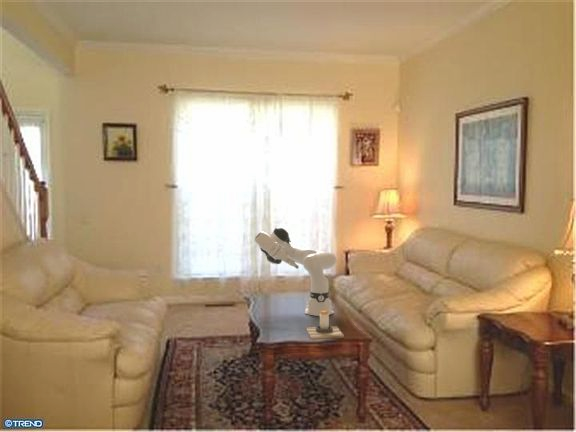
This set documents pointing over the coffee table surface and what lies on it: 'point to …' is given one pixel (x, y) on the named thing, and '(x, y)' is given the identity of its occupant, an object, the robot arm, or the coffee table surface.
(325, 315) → the bottle
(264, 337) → the coffee table surface
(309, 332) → the board
